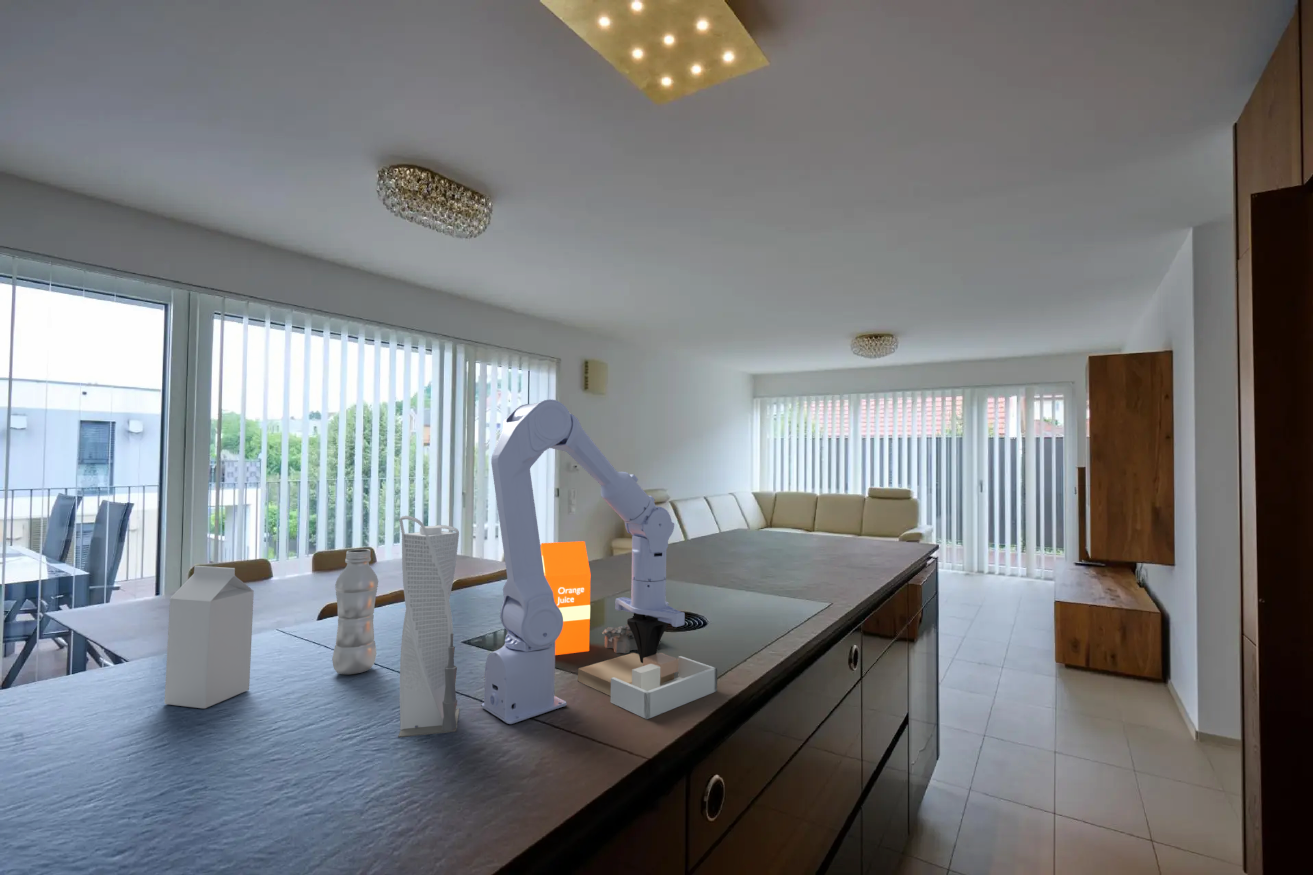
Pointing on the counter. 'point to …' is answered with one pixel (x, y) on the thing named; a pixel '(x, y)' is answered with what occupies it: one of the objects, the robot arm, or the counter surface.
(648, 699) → the tray
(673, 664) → the terracotta tile
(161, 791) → the counter surface
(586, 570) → the orange juice
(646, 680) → the cream tile
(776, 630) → the counter surface
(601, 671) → the flat wooden plank
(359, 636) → the plastic bottle
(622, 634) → the egg carton
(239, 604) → the milk carton
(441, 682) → the skyscraper
